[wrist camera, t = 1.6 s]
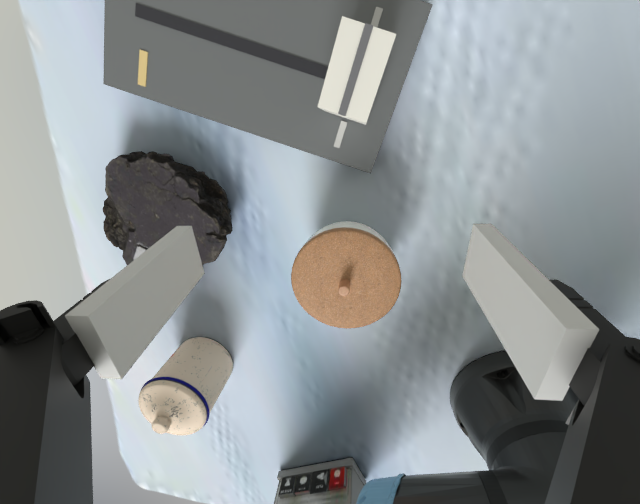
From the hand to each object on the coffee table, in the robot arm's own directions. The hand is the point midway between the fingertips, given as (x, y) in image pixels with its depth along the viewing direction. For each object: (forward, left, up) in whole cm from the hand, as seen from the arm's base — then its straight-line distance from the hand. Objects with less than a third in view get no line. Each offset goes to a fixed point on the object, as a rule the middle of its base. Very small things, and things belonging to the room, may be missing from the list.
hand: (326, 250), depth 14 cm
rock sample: (+18, +11, -21) cm, 30 cm away
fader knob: (+2, -9, -17) cm, 20 cm away
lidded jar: (-3, +8, -21) cm, 22 cm away
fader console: (+12, -9, -21) cm, 26 cm away
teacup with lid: (+11, +33, -21) cm, 40 cm away
